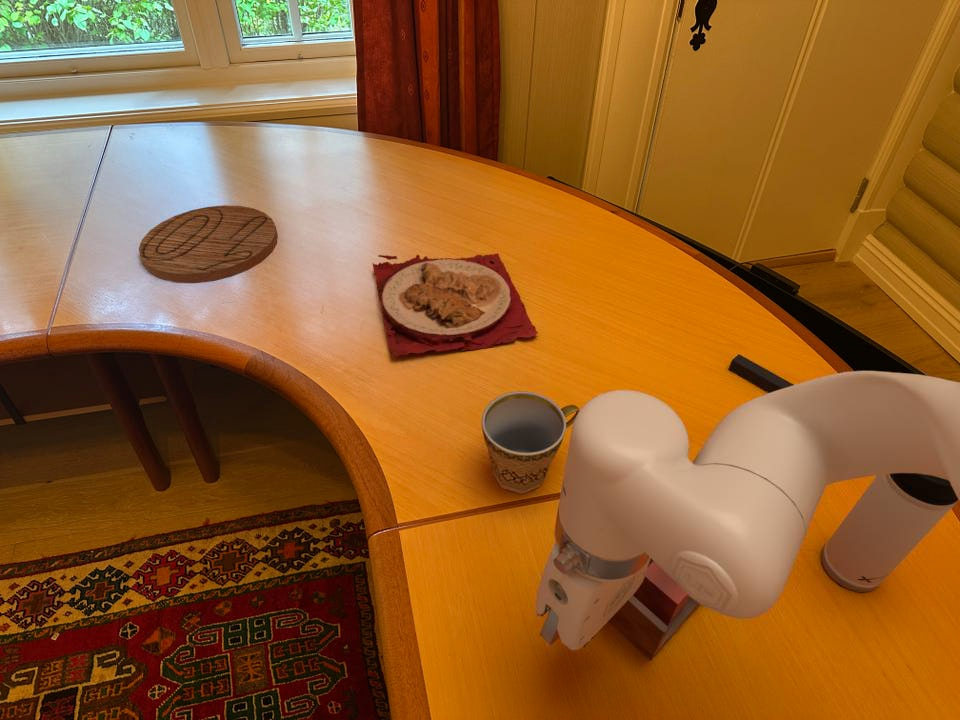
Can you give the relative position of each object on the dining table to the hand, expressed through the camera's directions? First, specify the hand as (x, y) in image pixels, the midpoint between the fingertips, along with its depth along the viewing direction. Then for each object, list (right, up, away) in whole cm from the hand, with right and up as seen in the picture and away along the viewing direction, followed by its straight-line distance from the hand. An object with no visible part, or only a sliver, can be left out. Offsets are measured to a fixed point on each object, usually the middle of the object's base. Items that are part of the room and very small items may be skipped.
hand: (576, 629), depth 59 cm
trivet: (-62, +48, +59) cm, 98 cm away
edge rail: (+36, +20, +29) cm, 50 cm away
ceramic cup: (-3, +12, +20) cm, 23 cm away
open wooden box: (+8, +1, +8) cm, 11 cm away
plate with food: (-14, +36, +46) cm, 60 cm away
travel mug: (+33, +3, +10) cm, 34 cm away
